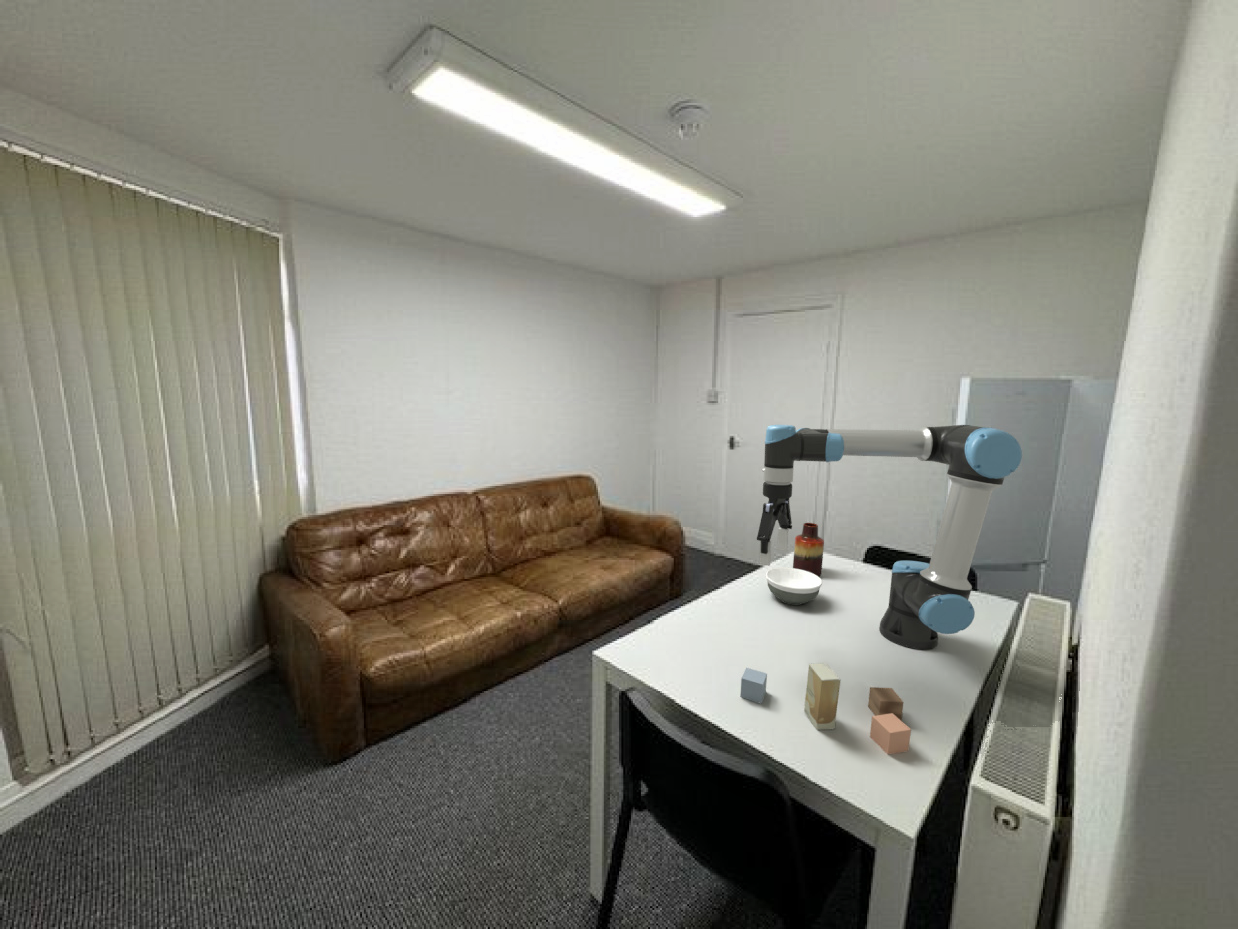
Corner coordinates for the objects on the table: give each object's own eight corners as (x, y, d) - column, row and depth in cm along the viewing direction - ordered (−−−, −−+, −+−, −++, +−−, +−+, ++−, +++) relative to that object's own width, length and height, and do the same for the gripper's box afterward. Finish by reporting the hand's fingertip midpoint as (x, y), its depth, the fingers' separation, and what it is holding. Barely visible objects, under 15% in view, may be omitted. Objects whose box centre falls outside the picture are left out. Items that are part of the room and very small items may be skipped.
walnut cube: (889, 707, 111) (891, 688, 110) (901, 722, 106) (903, 702, 105) (867, 706, 111) (869, 687, 111) (878, 721, 106) (880, 701, 106)
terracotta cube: (889, 734, 103) (892, 713, 102) (908, 751, 98) (911, 729, 97) (869, 737, 101) (872, 716, 101) (887, 755, 97) (890, 733, 96)
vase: (795, 577, 187) (799, 527, 184) (790, 567, 198) (793, 520, 194) (824, 579, 185) (828, 529, 182) (817, 569, 196) (821, 521, 193)
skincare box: (803, 711, 109) (807, 662, 107) (821, 710, 110) (825, 661, 108) (817, 731, 103) (821, 679, 101) (836, 730, 103) (841, 679, 101)
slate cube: (765, 692, 116) (767, 673, 115) (761, 703, 112) (762, 684, 111) (745, 686, 118) (746, 667, 118) (740, 697, 114) (741, 678, 113)
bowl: (824, 596, 170) (826, 574, 169) (814, 617, 155) (816, 593, 153) (772, 584, 180) (773, 563, 179) (757, 602, 165) (759, 580, 163)
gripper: (779, 474, 140) (776, 543, 144) (746, 488, 121) (742, 567, 124) (806, 477, 136) (801, 548, 139) (775, 491, 116) (770, 574, 120)
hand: (773, 557), depth 132 cm, fingers open, 13 cm apart
